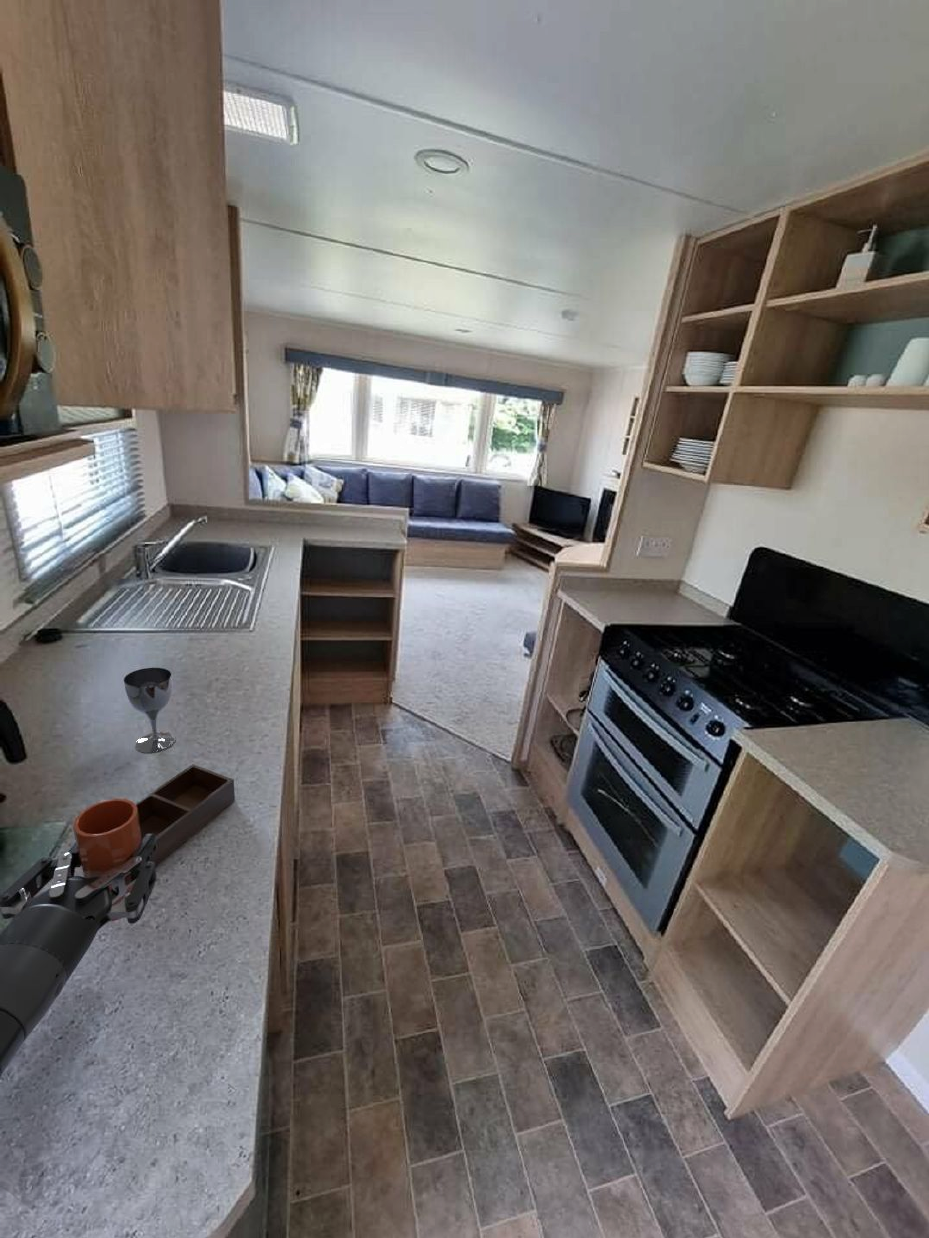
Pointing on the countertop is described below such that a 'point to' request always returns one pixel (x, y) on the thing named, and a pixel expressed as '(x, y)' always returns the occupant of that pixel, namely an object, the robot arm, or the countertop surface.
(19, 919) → the robot arm
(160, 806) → the caddy
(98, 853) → the tumbler
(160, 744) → the wine glass
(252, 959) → the countertop surface
